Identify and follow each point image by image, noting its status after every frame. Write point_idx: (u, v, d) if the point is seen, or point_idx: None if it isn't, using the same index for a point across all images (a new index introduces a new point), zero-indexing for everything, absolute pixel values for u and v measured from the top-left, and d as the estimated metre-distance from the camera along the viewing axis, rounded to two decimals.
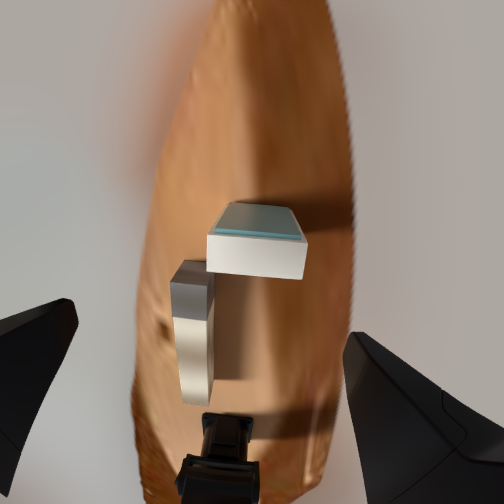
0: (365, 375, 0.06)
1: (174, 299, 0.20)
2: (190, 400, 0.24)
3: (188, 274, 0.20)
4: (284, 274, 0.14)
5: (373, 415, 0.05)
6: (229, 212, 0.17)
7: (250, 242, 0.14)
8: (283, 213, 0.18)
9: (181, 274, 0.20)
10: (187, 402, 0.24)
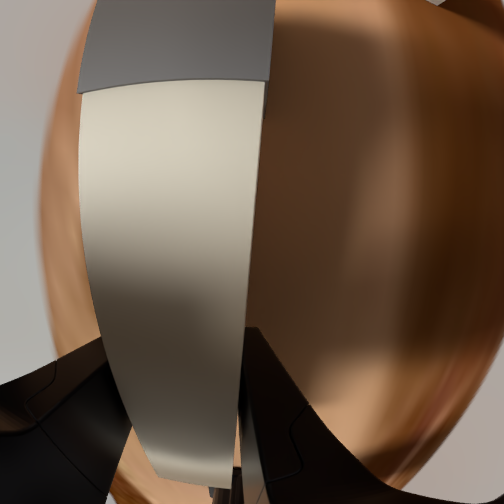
0: None
1: (109, 2, 0.02)
2: (177, 475, 0.07)
3: None
4: None
5: (242, 418, 0.05)
6: None
7: None
8: None
9: None
10: (170, 478, 0.07)
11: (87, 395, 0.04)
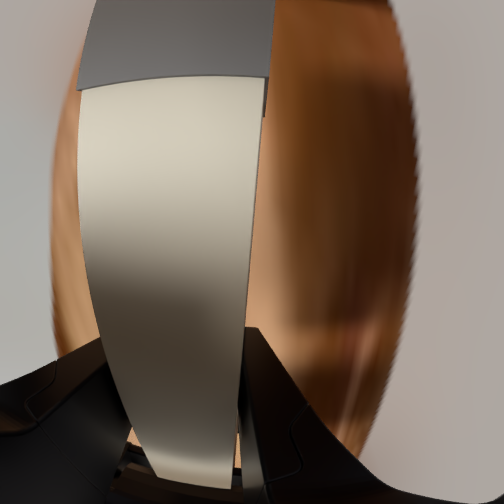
0: (240, 373, 0.06)
1: None
2: (176, 475, 0.07)
3: None
4: None
5: (242, 418, 0.05)
6: None
7: None
8: None
9: None
10: (170, 478, 0.07)
11: (87, 395, 0.04)
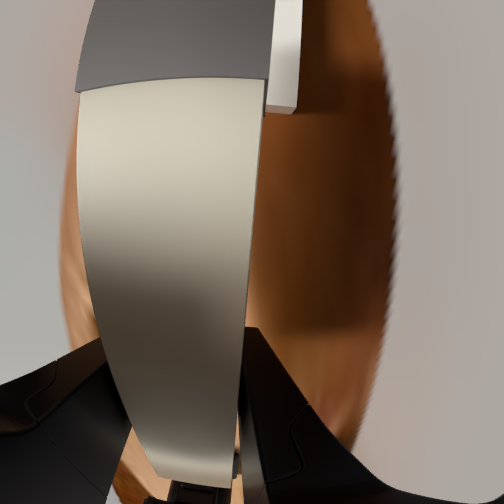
0: (240, 373, 0.06)
1: None
2: (177, 475, 0.07)
3: None
4: None
5: (242, 418, 0.05)
6: None
7: None
8: None
9: None
10: (170, 477, 0.07)
11: (87, 395, 0.04)
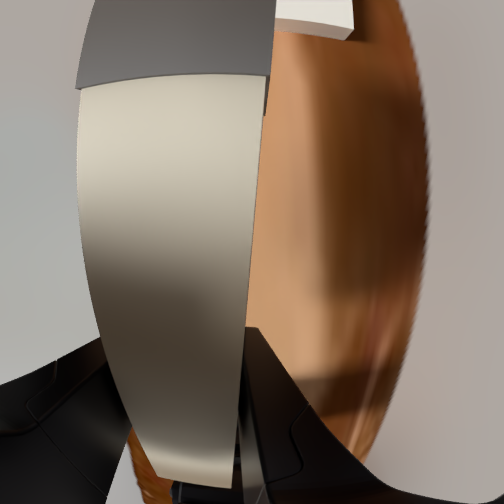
0: None
1: None
2: (177, 475, 0.07)
3: None
4: None
5: (242, 418, 0.05)
6: None
7: None
8: None
9: None
10: (170, 477, 0.07)
11: (87, 395, 0.04)
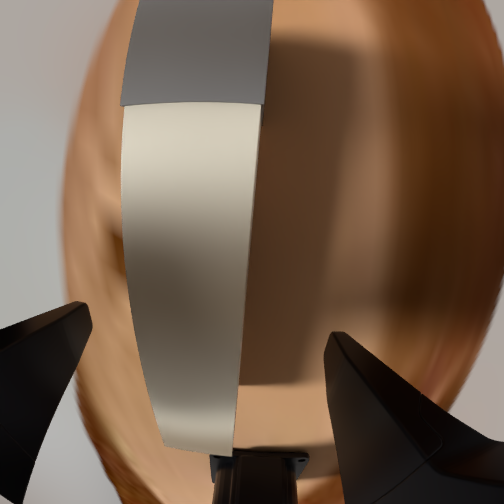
0: (343, 376, 0.06)
1: (142, 33, 0.04)
2: (182, 442, 0.08)
3: None
4: None
5: (350, 417, 0.05)
6: None
7: None
8: None
9: None
10: (176, 446, 0.08)
11: (9, 360, 0.04)
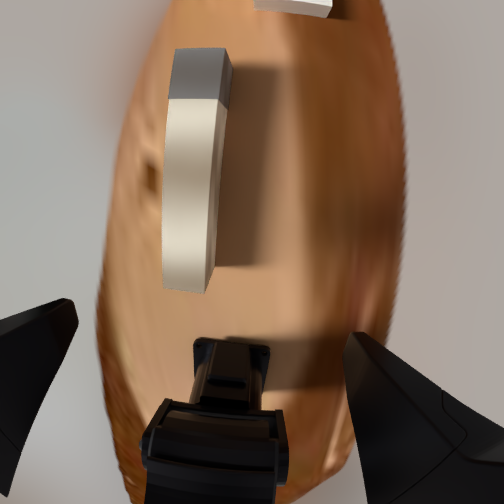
0: (365, 375, 0.06)
1: (176, 71, 0.12)
2: (175, 280, 0.16)
3: None
4: None
5: (373, 415, 0.05)
6: None
7: None
8: None
9: None
10: (170, 286, 0.16)
11: None
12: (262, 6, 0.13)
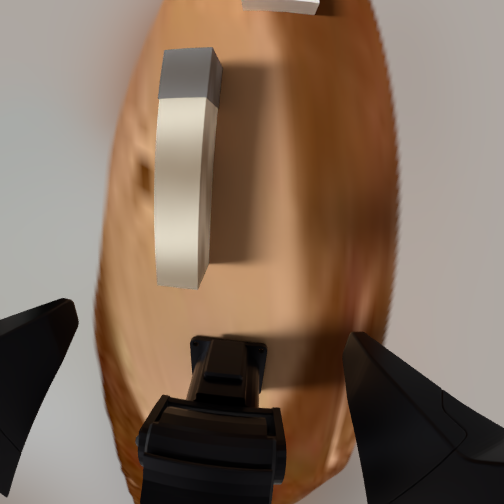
0: (365, 375, 0.06)
1: (165, 72, 0.12)
2: (168, 277, 0.16)
3: None
4: None
5: (373, 415, 0.05)
6: None
7: None
8: None
9: None
10: (164, 283, 0.16)
11: None
12: (250, 6, 0.13)
